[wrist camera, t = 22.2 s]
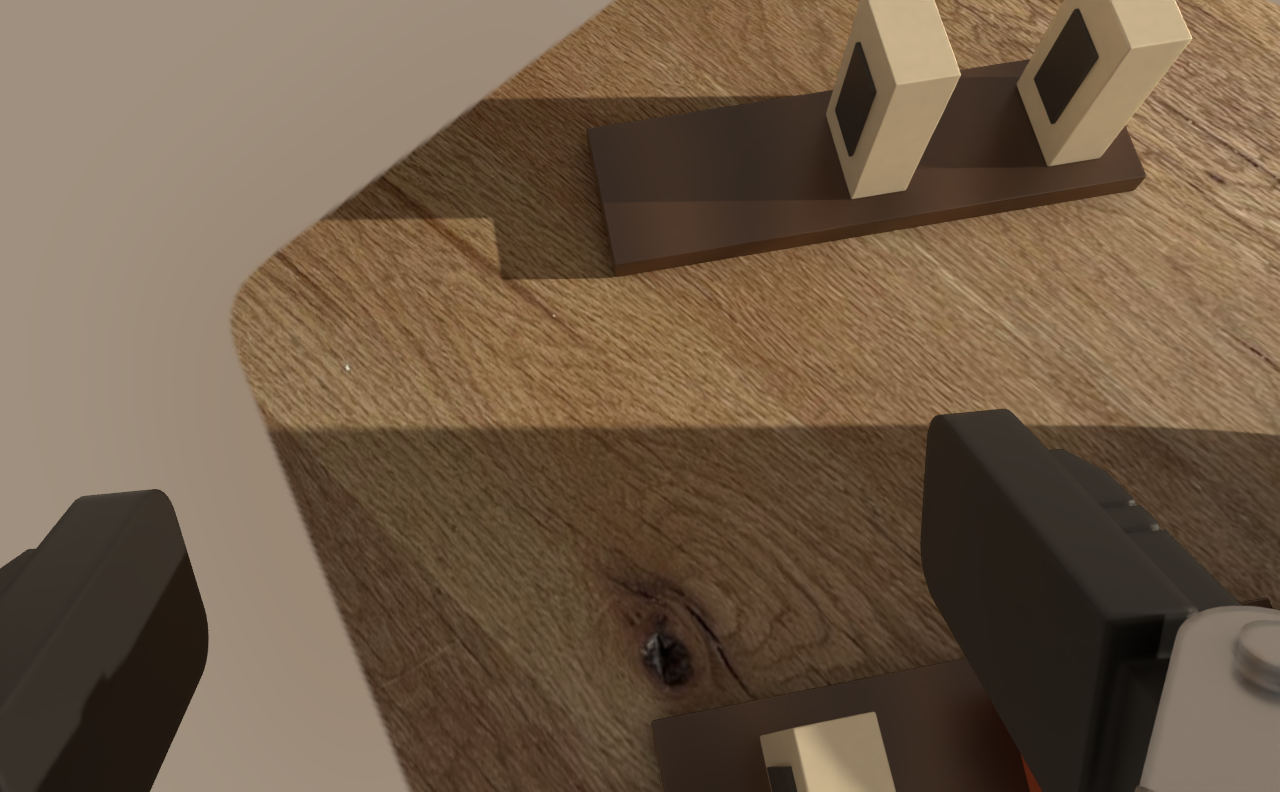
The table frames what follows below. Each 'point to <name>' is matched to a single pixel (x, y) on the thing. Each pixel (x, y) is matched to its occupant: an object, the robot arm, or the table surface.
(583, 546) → the table surface
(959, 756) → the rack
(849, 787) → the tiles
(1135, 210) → the table surface
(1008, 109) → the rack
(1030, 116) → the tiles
